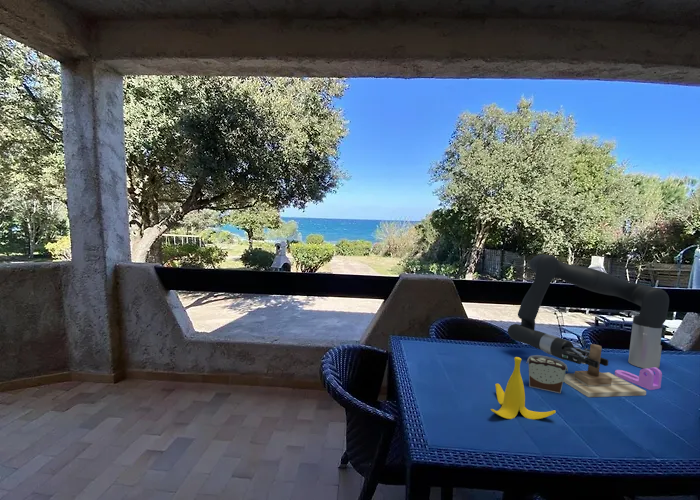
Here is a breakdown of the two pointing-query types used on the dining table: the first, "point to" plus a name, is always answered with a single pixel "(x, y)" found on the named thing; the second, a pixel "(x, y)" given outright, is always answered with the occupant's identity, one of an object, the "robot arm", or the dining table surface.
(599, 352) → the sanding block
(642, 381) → the bracket
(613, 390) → the pine board
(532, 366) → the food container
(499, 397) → the banana peel
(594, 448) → the dining table surface
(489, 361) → the dining table surface
